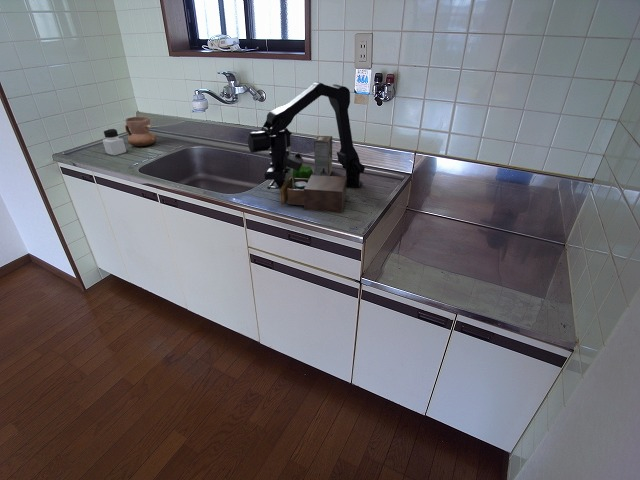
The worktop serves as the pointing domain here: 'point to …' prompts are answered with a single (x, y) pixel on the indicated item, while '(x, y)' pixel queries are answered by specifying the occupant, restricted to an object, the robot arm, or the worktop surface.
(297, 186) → the tea tin
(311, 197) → the cabinet
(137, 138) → the ceramic jug
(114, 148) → the medicine bottle
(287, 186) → the drawer
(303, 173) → the bell pepper
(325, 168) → the coffee box
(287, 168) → the spray can
